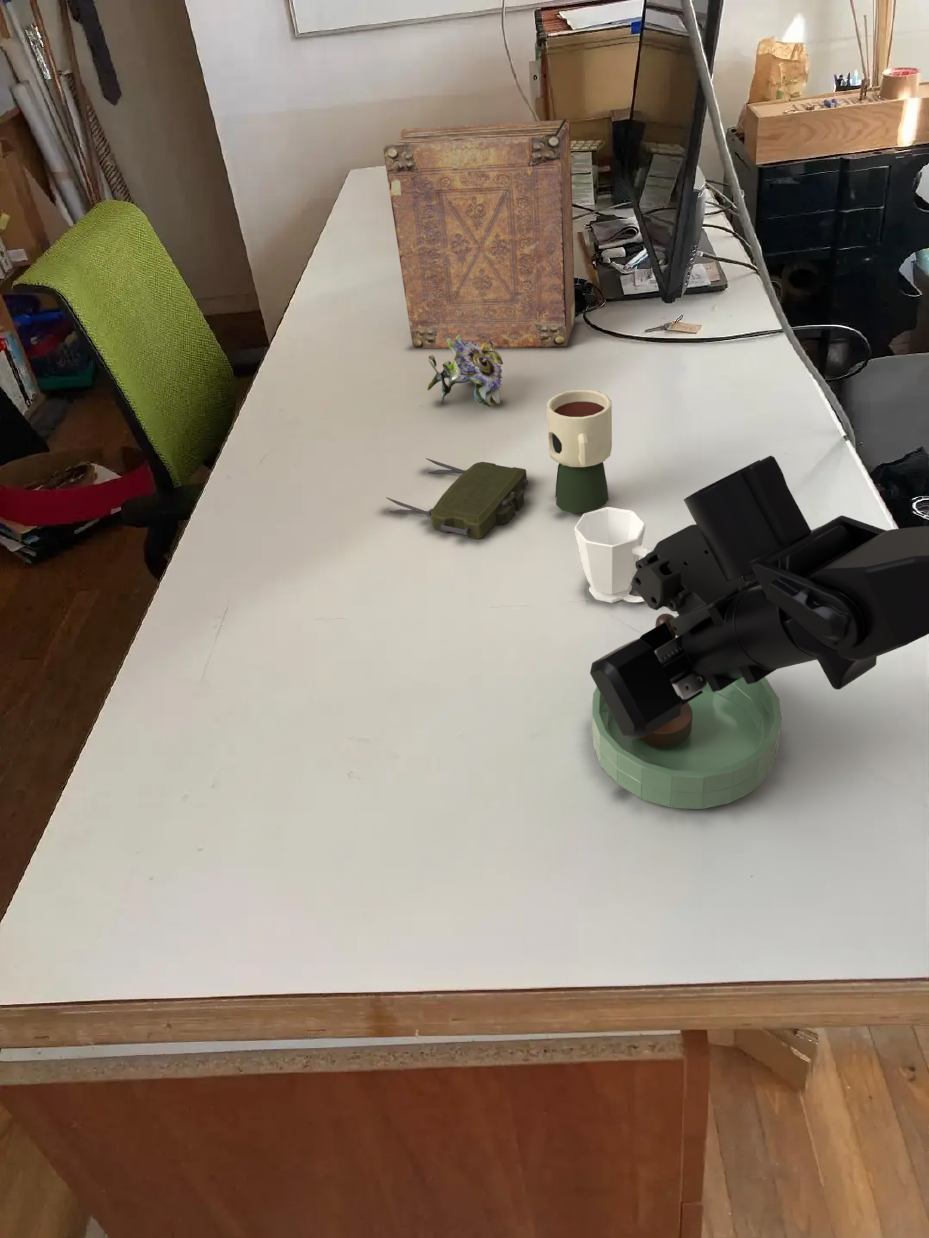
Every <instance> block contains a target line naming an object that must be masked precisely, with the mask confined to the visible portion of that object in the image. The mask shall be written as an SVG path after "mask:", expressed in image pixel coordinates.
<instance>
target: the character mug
mask: <svg viewBox="0 0 929 1238" xmlns="http://www.w3.org/2000/svg"><path fill="white" fill-rule="evenodd" d="M612 405H613V404H612V399H611V398H610V397H609V395H607V394H605V393H603V392H601V391H599V390H595V389H587V388H586V389H585V388H584V389H583V388H582V389H571V390H566V391H563V392H561V393H558V394H556V395H553V397H551V398H550V399H549V400H548V401H547V403H546V422H547V441H548V442H547V443H548V452H549V456H550V459H552V460H553V461H554V462H556V463H558V465H557V472H556V481H555V495H554V497H555V505H556V507H558V509H560V510H561V511H563V512H567V513H570V514H580V513H588V512H591V511H595V510H598V509H601V508H603V507H605V506H606V505H607V503H608V502H609V500H610V497H609V488H608V482H607V476H606V471H605V464H604V462H606V461H607V459H608V458H609V457H611V454H612V447H613V423H612V422H613V419H612V418H613V415H612V414H613V413H612V411H613V410H612V409H613V406H612Z"/></svg>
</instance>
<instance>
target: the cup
mask: <svg viewBox="0 0 929 1238" xmlns="http://www.w3.org/2000/svg"><path fill="white" fill-rule="evenodd" d="M646 527H647V524H646V523H645V521H644V520H642V518H641V517H640V516H639V515H638V514H637V513H636V512H635V511H634V510H631V509H624V508H618V507H611V506H606V507H605V506H604V507H601V508H598V509H596V510H591V511H587V512H584V513H583V514H582V515H581V517H580V519H579V520H578V522H577V523H576V525H575V527H574V528H573V529H574V533H575V539H576V542H577V548H578V551H579V557H580V561H581V566H582V569H583V572H584V574H585V578H586V580H587V583H588V584H589V587H588V591H589V593H590V594H591V596H593V598H594V599H595V600H596V601H599V602H606V603H610V604H614V603H615V602H620V601H622V600H623V601H625V602H627V603H641V602H642V603H643V602H645V601H644V599H643V598H642V597H641V596H640V595H632V594H630V592H631V591H632V589H633V585H632V579H633V577H634V575H635V573H636V572H637V569H636V566H635V563H636V561H638V560H640V557H642V558H643V557H645V556H646V554H648V553H650V552H652V551H651V550H650V549H648V548H646V547H645V546H643V541H644V536H645V530H646Z"/></svg>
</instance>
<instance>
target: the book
mask: <svg viewBox="0 0 929 1238" xmlns="http://www.w3.org/2000/svg"><path fill="white" fill-rule="evenodd" d="M571 140H572V139H571V121H570V120H569V119H565V118H564V119H552V120H550V119H549V120H533V121H519V122H501V123H500V122H499V123H485V124H467V125H466V124H465V125H451V126H449V125H448V126H433V127H416V128H404V129H402V130H401V131H400V140H398V142H396V143H393V144H385V145H384V146H383V156H384V157H383V158H384V163H385V169H386V177H387V183H388V184H387V185H388V190H389V198H390V204H391V210H392V217H393V223H394V230H395V231H394V232H395V236H396V245H397V250H398V257H399V258H398V259H399V264H400V271H401V277H402V284H403V290H404V297H405V304H406V311H407V317H408V324H409V330H410V337H411V338H410V339H411V344H412V347H413V348H414V349H450V348H449V346H448V344H447V341H446V338H450V339H451V341H452V342H455V343H456V337H457V336H458V335H460V339H461V340H462V341H463V342H464V341H466V342H468V343H469V341H471V340H472V342H473V344H477V343H478V344H479V345H480V346H482V344H483V343H485V344H486V345H488V341H491V342H492V345H493V347H494V349H496V348H505V349H506V348H507V349H509V348H566V347H567V345H568V343H569V340H570V337H571V334H572V331H573V329H574V326H575V323H576V300H575V298H576V297H575V296H576V295H575V263H574V262H575V258H574V257H575V256H574V224H573V223H574V221H573V220H574V218H573V217H574V216H573V184H572V183H573V182H572V181H573V180H572V143H571Z"/></svg>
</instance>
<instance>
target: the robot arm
mask: <svg viewBox="0 0 929 1238" xmlns="http://www.w3.org/2000/svg"><path fill="white" fill-rule="evenodd" d="M683 502H684V504H685V506H686V507H687V509H688V511H689V513H690V516H691V517H692V519H693V521H694V522H695V523H694V524H690V525H687V526H686V527H684V528H682V529H680V530H679V531H676V532H675V533H672V534H671V535H669V536H667V537H665V538H663V539H661V540H659V541H658V542H657V543H656V544H655V546H654V548H653V550H652V551H651V552H650V553H648V554H646V556H645V557H643V556H642V558H639V560H638V561H636V563H635V566H636V571H635V574H634V577H633V579H632V582H631V584H632V587H633V588H634V590H635V591H636V592H637V594H639V595H638V596H641V597H642V598H643V599H644V601H643V602H645V603H646V604H647V606H648V607H649V608H650V609H652V610H654V611H658V610H660V609H661V608H664V607H665V608H668V609H669V610H670V611H671V612H675V613H677V615H676V616H674V618H673V619H671V620H670V621H669V623H670V625H671V627H672V629H673V630H674V632H675V634H676V638H673V636H672V634H671V632H670V630H669V628H668V626H667V625H666V623H665V622H664V623H662V624H661V625H659V626H657V627H655V626H654V628H652V629H650V630H648V631H647V632H645V633H643V634H642V635H641V636H640V637H638V638H636V639H634V640H631V641H630V642H627V643H624V645H621V646H619V647H617V648H615V649H614V650H612V651H610V652H608V653H606V654H604V655H603V656H602V657H600V658H598V659H597V660H594V661H592V663H591V667H590V670H589V674H590V676H591V678H592V680H593V682H594V684H595V685H596V687H598V689H599V691H600V693H601V695H602V697H603V699H604V701H605V702H606V704H607V706H608V708H609V710H610V712H611V714H612V716H613V717H614V719H615V721H616V723H617V725H618V727H619V729H620V731H621V732H622V734H623V736H625V737H628V738H631V739H636V738H642V737H646V736H648V735H650V734H651V733H653V732H654V731H656V730H657V729H659V728H661V727H662V726H664V725H665V724H667V723H669V722H670V721H672V720H673V719H675V718H677V717H678V716H680V715H681V706H682V705H684V704H686V703H687V702H689V701H690V700H692V699H694V698H695V697H697V696H699V695H700V694H702V693H703V692H702V689H704V688H705V687H706V686H707V683H708V684H709V686H710V687H711V689H712V691H713V692H715V691H720V690H722V689H724V688H725V687H727V686H728V685H730V684H732V683H733V682H735V681H736V680H738V679H740V678H741V677H743V678H744V679H745V681H746V683H747V684H751V683H756V682H758V681H759V680H761V679H762V678H764V677H765V678H766V677H767V676H769V675H770V674H772V673H774V672H775V671H776V670H778V669H783V668H787V667H791V666H796V665H800V664H804V663H808V662H809V663H810V662H812V661H817V662H818V664H819V665H820V667H821V669H822V671H823V673H824V675H825V676H826V679H827V681H828V682H829V684H830V686H831V687H832V689H834V690H836V691H838V690H842V689H843V688H844V687H846V686H847V685H849V684H850V683H852V682H853V681H855V680H856V679H858V678H859V677H862V675H864V674H866V673H867V672H869V671H871V670H872V669H873V668H874V667H875V666H877V661H878V660H877V658H878V657H880V656H881V655H885V654H887V653H890V652H892V651H894V650H898V649H900V648H903V647H905V646H907V645H909V644H911V643H913V642H915V641H917V640H919V639H921V638H923V637H925V636H928V635H929V525H924V526H923V525H922V526H911V527H903V528H892V529H886V530H885V529H884V528H881V527H877V526H874V525H872V524H870V523H866V522H863V521H861V520H857V519H854V518H852V517H849V516H846V515H838V516H837V517H836V518H834V519H831V520H830V521H828V522H827V523H825V524H822V525H820V526H818V527H815V528H813V529H811V527H810V525H809V523H808V522H807V520H806V518H805V517H804V514H803V512H802V511H801V509H800V507H799V505H798V504H797V502H796V499H795V498H794V495H793V494H792V492H791V491H790V488H789V486H788V484H787V481H786V478H785V475H784V473H783V471H782V468H781V467H780V465H779V463H778V460H777V459H776V457H774V455H769V456H766V457H765V458H762V459H761V460H760V459H758V460H756V461H754V462H752V463H749V464H748V465H746V466H744V467H742V468H740V469H738V470H736V471H735V472H732V473H730V474H728V475H726V476H724V477H723V478H720V479H718V480H717V481H714V482H713V483H710V484H708V485H707V486H706V485H705V487H703V488H701V489H699V490H697V491H695V492H693V493H692V494H690V495H688V496H686V497H685V498H683Z"/></svg>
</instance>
